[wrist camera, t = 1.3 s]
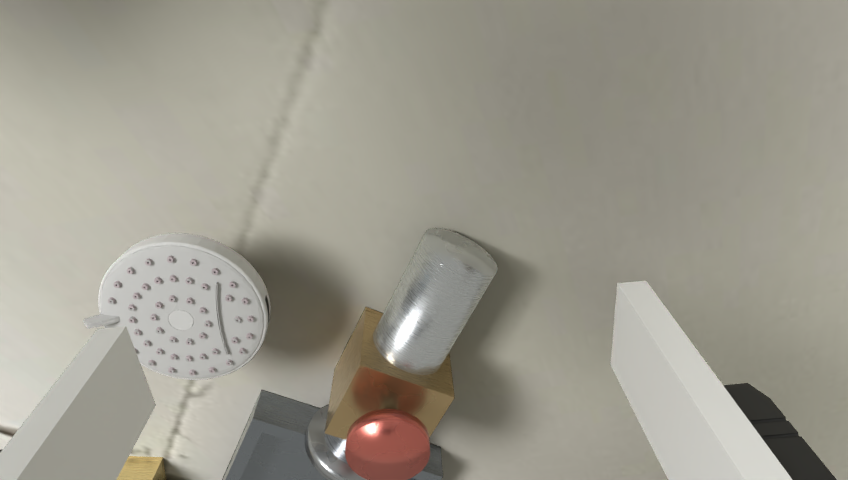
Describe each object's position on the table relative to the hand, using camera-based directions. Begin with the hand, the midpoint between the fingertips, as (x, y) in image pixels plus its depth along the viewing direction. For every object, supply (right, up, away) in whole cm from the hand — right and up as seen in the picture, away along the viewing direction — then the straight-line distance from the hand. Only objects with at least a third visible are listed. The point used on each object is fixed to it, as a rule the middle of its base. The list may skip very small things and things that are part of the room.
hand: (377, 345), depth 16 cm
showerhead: (-13, +1, +23) cm, 27 cm away
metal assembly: (-3, -9, +29) cm, 31 cm away
